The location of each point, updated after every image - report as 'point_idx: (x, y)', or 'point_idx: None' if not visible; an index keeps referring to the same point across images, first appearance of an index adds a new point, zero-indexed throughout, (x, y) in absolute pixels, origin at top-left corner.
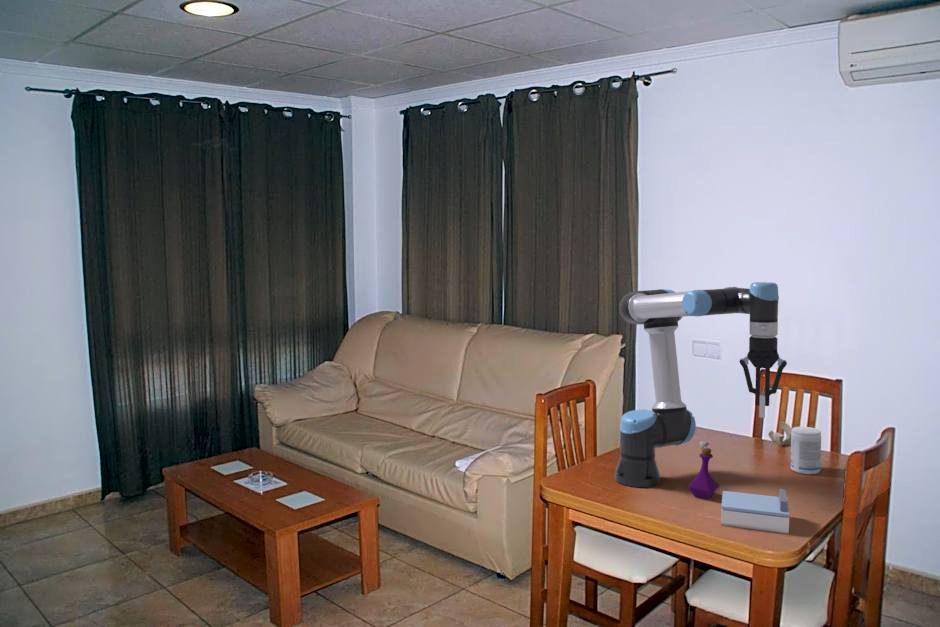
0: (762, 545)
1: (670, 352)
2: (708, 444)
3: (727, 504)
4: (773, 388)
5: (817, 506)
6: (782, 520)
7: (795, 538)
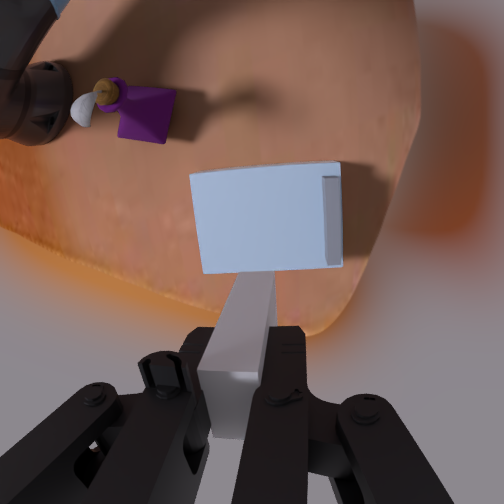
0: (291, 318)
1: None
2: (96, 95)
3: (213, 258)
4: (345, 501)
5: (390, 82)
6: None
7: (347, 269)
